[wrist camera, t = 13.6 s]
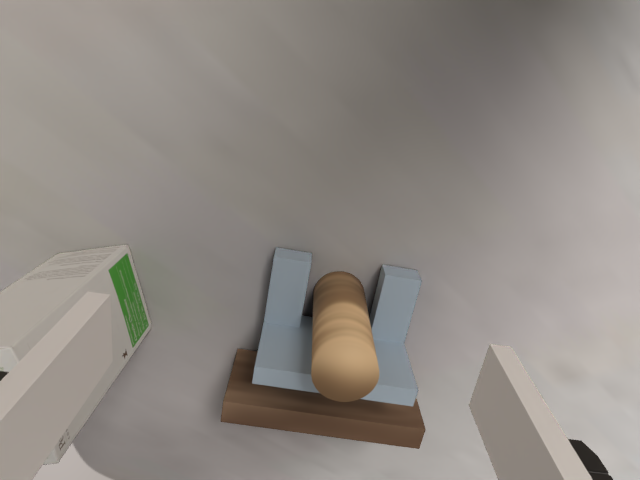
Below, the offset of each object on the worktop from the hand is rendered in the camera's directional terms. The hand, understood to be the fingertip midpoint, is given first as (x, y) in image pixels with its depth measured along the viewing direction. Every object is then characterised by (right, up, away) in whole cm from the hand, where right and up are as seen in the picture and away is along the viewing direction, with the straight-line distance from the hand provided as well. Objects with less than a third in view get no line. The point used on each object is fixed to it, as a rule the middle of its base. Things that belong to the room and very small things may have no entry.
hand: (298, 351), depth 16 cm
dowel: (+2, -1, +24) cm, 24 cm away
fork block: (+2, -3, +25) cm, 25 cm away
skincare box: (-18, 0, +24) cm, 30 cm away
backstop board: (+1, -8, +27) cm, 28 cm away
